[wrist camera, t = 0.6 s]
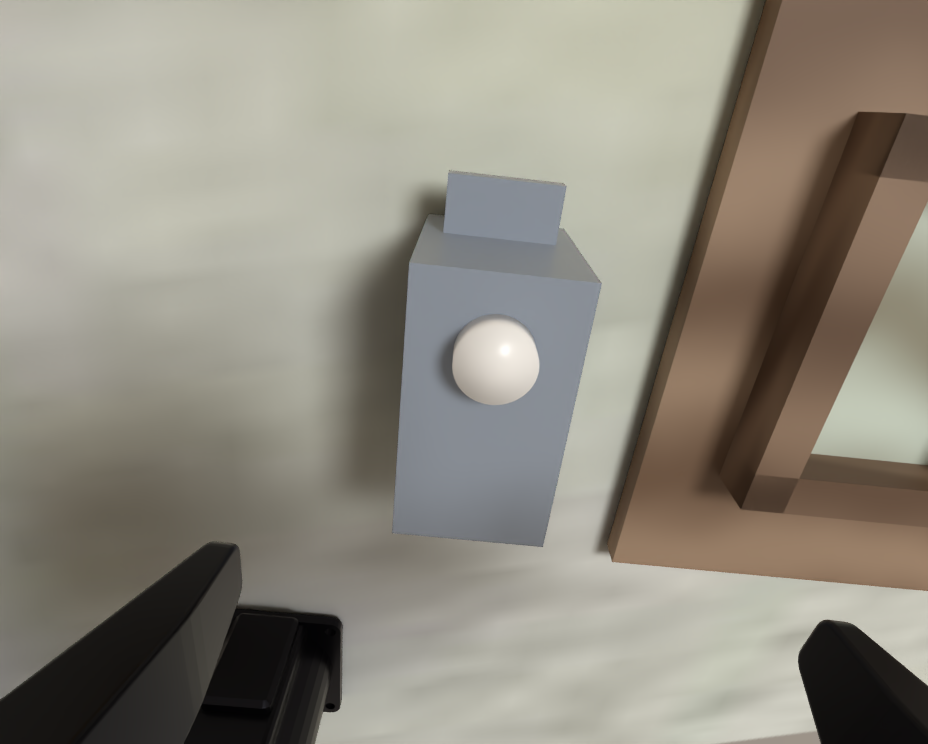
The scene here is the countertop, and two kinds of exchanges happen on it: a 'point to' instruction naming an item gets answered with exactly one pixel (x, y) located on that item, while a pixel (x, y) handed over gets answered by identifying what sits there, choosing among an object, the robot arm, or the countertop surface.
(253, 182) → the countertop surface
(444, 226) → the block
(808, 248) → the brown wooden board
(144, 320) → the countertop surface
